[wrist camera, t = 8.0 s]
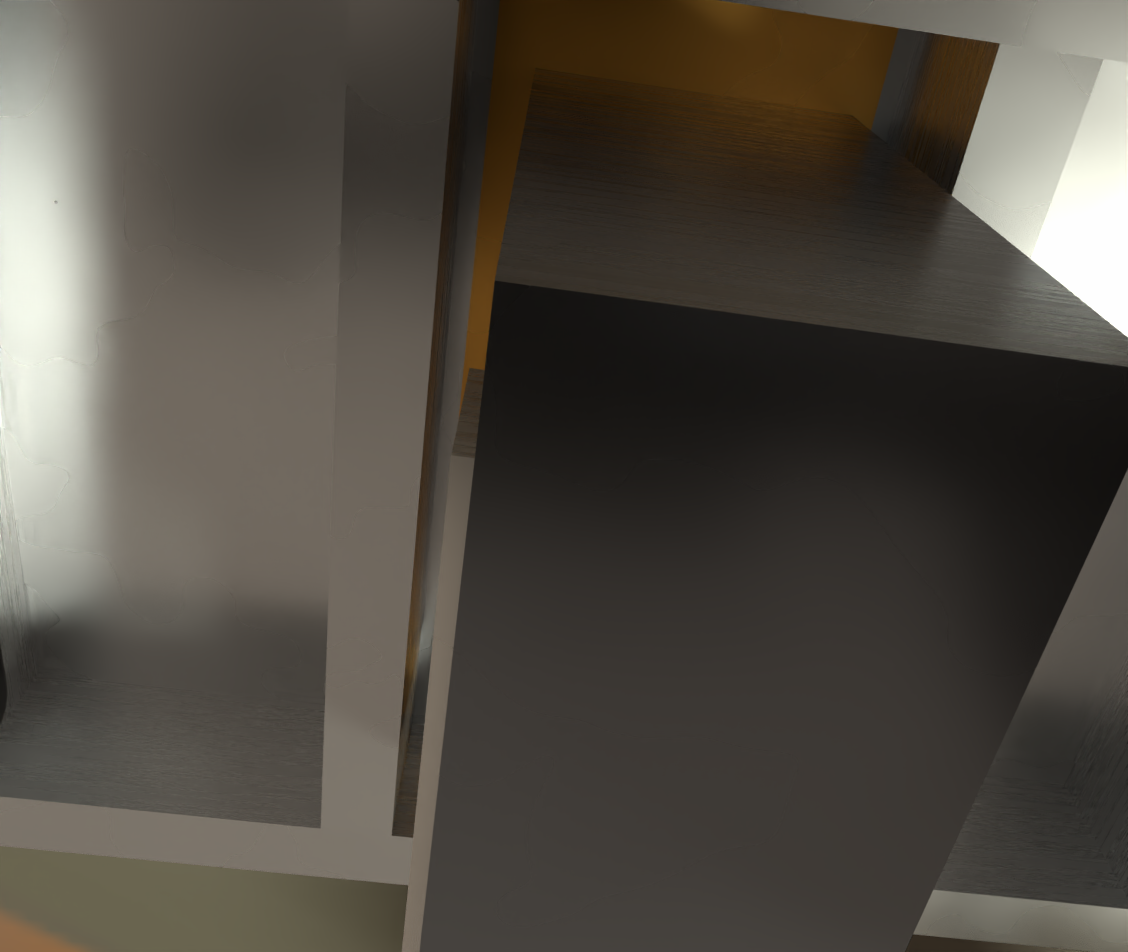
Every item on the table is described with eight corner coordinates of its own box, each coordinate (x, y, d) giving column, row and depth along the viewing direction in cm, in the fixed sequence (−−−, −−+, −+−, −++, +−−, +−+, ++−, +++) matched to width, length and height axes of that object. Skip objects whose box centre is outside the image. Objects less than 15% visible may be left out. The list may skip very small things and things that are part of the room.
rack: (1498, -31, 10) (1798, -5, 8) (1074, 788, 15) (1170, 958, 13) (-141, -296, 9) (-403, -365, 7) (10, 675, 14) (-105, 835, 12)
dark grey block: (851, 115, 10) (1170, 373, 5) (700, 686, 13) (787, 1207, 8) (519, 65, 10) (459, 276, 4) (452, 657, 13) (373, 1173, 8)
